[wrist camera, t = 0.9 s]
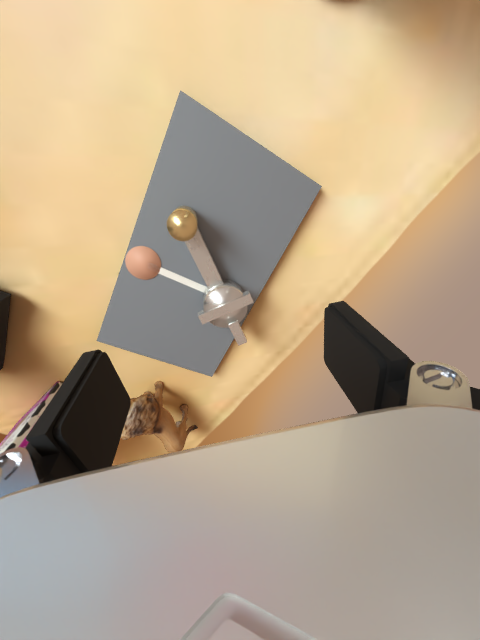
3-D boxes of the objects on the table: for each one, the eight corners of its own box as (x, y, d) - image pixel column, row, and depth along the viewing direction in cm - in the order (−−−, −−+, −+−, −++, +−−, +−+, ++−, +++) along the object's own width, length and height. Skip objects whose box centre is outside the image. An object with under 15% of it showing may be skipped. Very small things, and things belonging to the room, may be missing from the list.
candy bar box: (56, 378, 36) (-41, 509, 21) (89, 395, 38) (22, 525, 23) (13, 422, 38) (-100, 566, 24) (47, 436, 40) (-39, 576, 26)
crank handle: (261, 321, 34) (270, 342, 29) (217, 340, 34) (220, 363, 30) (207, 193, 26) (208, 195, 22) (151, 219, 27) (141, 227, 22)
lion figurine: (116, 385, 38) (94, 438, 30) (142, 365, 37) (126, 414, 29) (186, 432, 44) (183, 486, 36) (209, 416, 43) (212, 467, 35)
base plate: (181, 94, 23) (180, 89, 22) (317, 186, 29) (322, 186, 28) (99, 336, 33) (96, 341, 32) (211, 371, 39) (212, 377, 38)
